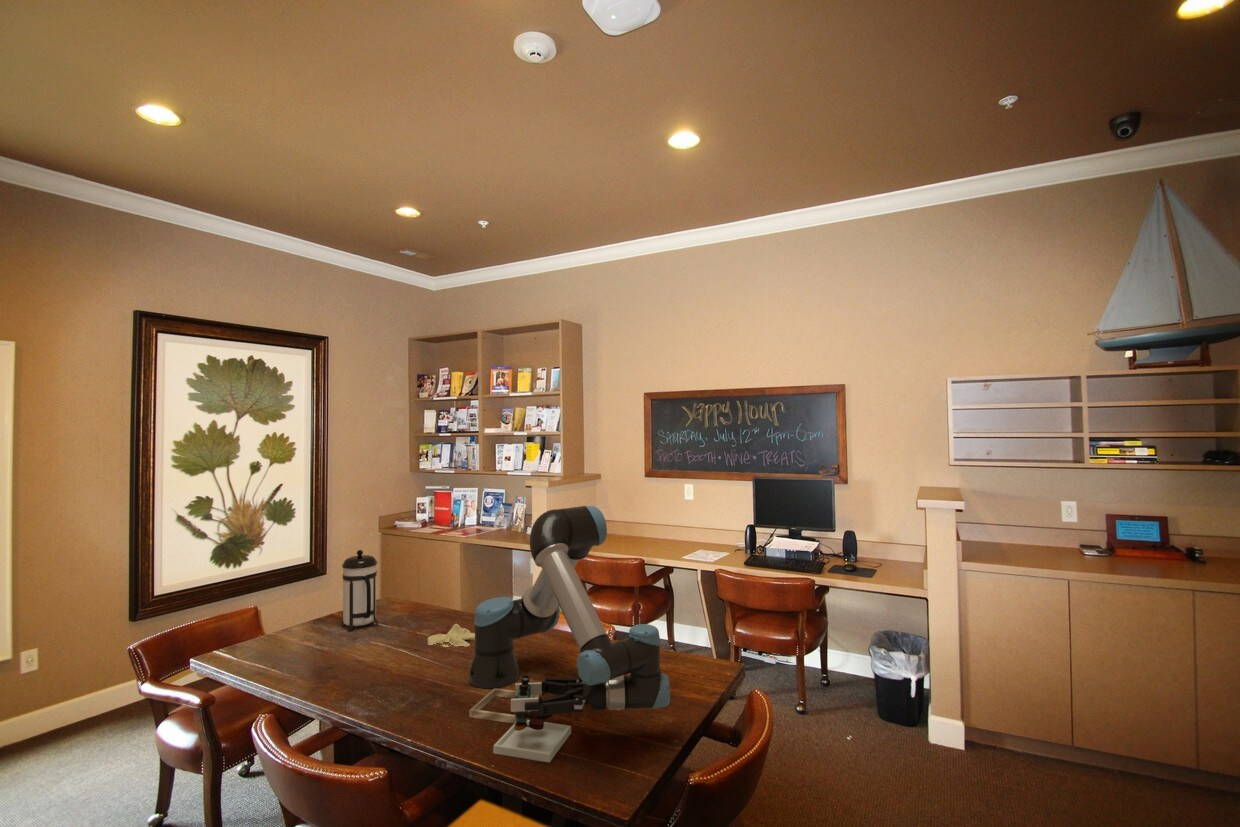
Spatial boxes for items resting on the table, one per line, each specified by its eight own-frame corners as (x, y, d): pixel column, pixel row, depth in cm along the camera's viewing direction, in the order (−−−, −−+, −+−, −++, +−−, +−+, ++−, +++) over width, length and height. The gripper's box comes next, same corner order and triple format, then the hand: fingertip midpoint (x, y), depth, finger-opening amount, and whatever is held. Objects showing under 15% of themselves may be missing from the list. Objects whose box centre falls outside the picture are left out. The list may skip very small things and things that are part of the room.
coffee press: (328, 632, 221) (328, 554, 222) (354, 618, 237) (354, 546, 238) (369, 634, 218) (369, 555, 219) (392, 620, 234) (392, 546, 235)
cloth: (416, 643, 209) (416, 626, 209) (457, 629, 224) (457, 613, 225) (456, 656, 196) (456, 638, 197) (496, 639, 212) (496, 623, 212)
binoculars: (555, 689, 136) (512, 687, 135) (551, 735, 135) (508, 733, 135) (556, 674, 145) (516, 672, 144) (552, 716, 144) (513, 714, 144)
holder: (469, 717, 153) (469, 710, 153) (494, 694, 166) (494, 688, 166) (518, 724, 148) (518, 717, 149) (540, 700, 161) (540, 694, 162)
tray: (493, 753, 135) (493, 745, 135) (519, 725, 148) (519, 718, 148) (549, 762, 131) (549, 754, 131) (571, 733, 144) (571, 725, 144)
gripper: (608, 729, 130) (507, 734, 129) (605, 690, 151) (518, 693, 150) (607, 696, 131) (507, 700, 129) (605, 661, 151) (518, 664, 150)
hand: (513, 697), depth 139 cm, fingers closed on binoculars, 8 cm apart
